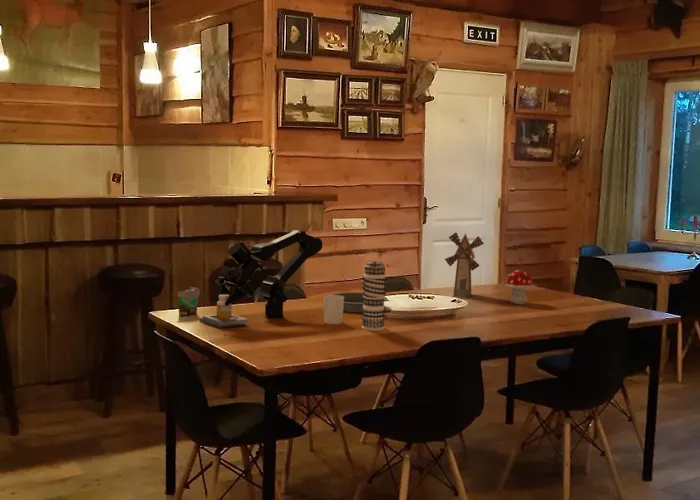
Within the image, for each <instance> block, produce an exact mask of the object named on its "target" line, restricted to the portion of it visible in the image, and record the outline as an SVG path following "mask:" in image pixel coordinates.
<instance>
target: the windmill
mask: <svg viewBox="0 0 700 500" xmlns="http://www.w3.org/2000/svg"><path fill="white" fill-rule="evenodd" d="M448 239H449V240H450V241H451V242H452V243H454V244H455V245H456V246H457V249H456V251H455V252H454V255H451V256H449V257H446V258H444V260H445V262H446V263H447V265H448V266H449V267H451V266H453V265H454V263H455V262H456V270H455V277H454V279H455V280H454V285H453V287H454V289H453V297H457V298H458V299H466V298H472V272H473V271H474V270H475V269H478V268H479V267H480V264H479V263H478V262H477V261H476V260H475V258H476V256H475V253H474V251H473V249H476V248H478V247H480V246H483V245H485V244H484V242H483V240H482V239H481V238H480V236H478V235H477V236H476V238H475V239H473V241H472V242H471V243H470V241H469V238H468V235H467V233H464V235H463V237H462V239H460V237H459V235H458V233H457V232H454V233H452V234H451V235H450V236H449V237H448Z"/></svg>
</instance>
